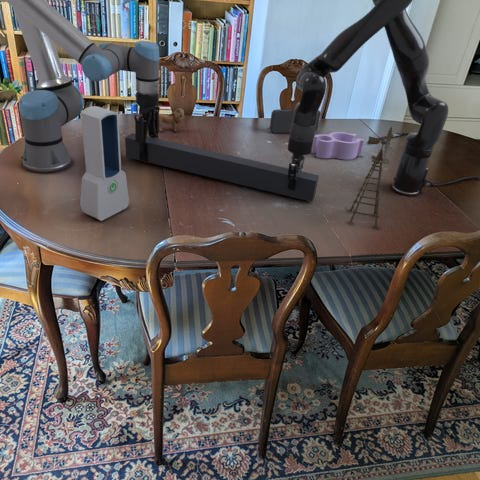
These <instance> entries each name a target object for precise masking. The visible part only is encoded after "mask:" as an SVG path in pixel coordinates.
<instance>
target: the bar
mask: <svg viewBox="0 0 480 480" xmlns="http://www.w3.org/2000/svg"><path fill="white" fill-rule="evenodd" d="M124 142H125V143H124V144H125V145H124V146H125V158H128V159H133V160H137V161H141V162H145V163H149V164H152V165H153V164H154V165H157V166H161V167H166V168H169V169H175V170H179V171H183V172H186V173H190V174H196V175H199V176H204V177H207V178H213V179H216V180H220V181H224V182H229V183H232V184H237V185H240V186H246V187H249V188H253V189H257V190H262V191H265V192H270V193H275V194H279V195H283V196H287V197H290V198H295V199H299V200H302V201H303V200H304V201H307V202H311V203H312V202H313V201H314V199H315V196H316V192H317V189H318V183H319V178H320V175H319V174H315V173H311V172H307V171H300V173H298V175H297V179H296V184H295V189H294V190H290V189H288V183H289V179H288V178H287V177H288V171H289V167H286V166H285V167H284V166H280V165H275V164H272V163H266V162H262V161H257V160H254V159H248V158H246V157H245V158H244V157H241V156H235V155H231V154H227V153H223V152H218V151H213V150H209V149H205V148H202V147H201V148H200V147H196V146H192V145H187V144H183V143H178V142H174V141H169V140H166V139H162V138H161V139H160V138H152V137H150V136H149V135H147V139H146V143H147V145H148V161H147V162H146V161H143V160H140V146H139V143H136V142H135V132H131V133H130V134H128V135H126V136H125V137H124ZM291 175H292V176H294V175H293V174H291Z"/></svg>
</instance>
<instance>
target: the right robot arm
mask: <svg viewBox="0 0 480 480" xmlns="http://www.w3.org/2000/svg"><path fill="white" fill-rule="evenodd" d="M371 1H372V4H373V7H372V8H371V9H370V10H369V11H368V12H367V13H366V14H365V15H364V16H362V17H361V18H359V20H357V21H355V22H354V23H353V24H350V25H349V26H348V27H346V28H345V29H343V30H342V31H341V32H340V33H339V34H338V35H337V36H335V38H334V39H333V40H332V41H331V42H330V43H329V44H328V45H327V46H326V47H325V48H324V49H323V51H322V52H321V53H320V54H318V55H317V56H315V58H313V59H312V60H311V61H308V63H307V64H306V65H304V66H303V68H301V69H300V71H299V73H298V74H297V76H296V80H295V85H296V86H297V88H298V90H299V91H301V97H300V101H299V102H297V103H296V104H295V106H294V109H295V110H294V116H293V122H292V126H291V130H290V133H289V135H288V142H287V143H288V144H287V151H288V152H289V153H290V154H291V153H292V156H291V157H290V160H289V164H288V168H289V171H288V177H287V178H288V179H289V183H288V189H290V190H294V189H295V184H296V179H297V175H298V173H300V171H302V170H303V168H304V164H305V160H306V156H308V155H310V154H312V148H313V142H314V137H315V135H316V134H315V133H316V131H315V124H316V119H317V113H318V110H319V109H320V107H321V105H322V103H323V100H324V98H325V95H326V91H327V81H326V80H327V79H326V77H327V76H328V75H329V74H332V73H337V72H338V71H340V70H341V69H342V68H343V67H344V66H345V65H346V64H347V63H348V61H349V60H350V59H351V58H352V57H353V56H354V55H355V54H356V53H357V52H358V51H359V50H360V49H361V48H362V47H363V46H364V45H365V44H367V42H368V41H369V40H371V38H373V37H374V36H375V35H376V34H378V32H380V31H381V30H382V29H383V28H384V31H385V33H386V37H387V41H388V44H389V46H390V49H391V50H390V51H391V53H392V56H393V61H394V63H395V66H396V69H397V72H398V74H399V76H400V80H401V83H402V86H403V88H404V92H405V96H406V101H407V107H408V111H409V115H410V118H411V119H412V120H413V121H414V122H416V123H417V124H419V125H420V127H419V129H418V131H417V132H411V133H409V134H407V136H406V139H405V143H404V145H403V146H404V147H403V149H402V153H401V156H400V160H399V163H398V166H397V170H396V173H395V176H394V177H393V180H392V181H393V183H392V186H391V188H392V190H393V191H395V192H396V193H397V194H399V195H400V194H401V195H404V196H411V197H412V196H417V195H418V194H421V193H422V190H423V188H426V185H427V183H428V184H430V186H432V187H440V186H446V185H450V184H455V183H457V182H460V181H463V180H464V181H465V180H469V179H476V180H477V181H480V178H479V176H477V175H470V176H467V177H461V178H457V179H455V180H452V181H447V182H443V183H433V182H432V181H431V180H428V179H427V175H428V172H429V167H428V165H429V163H430V159H431V156H432V153H433V150H434V147H435V144H436V143H437V142H438V141H439V139H440V138H441V137H440V136H441V134H442V132H443V130H444V127H445V125H446V122H447V120H448V116H449V105H448V104H447V102H445V101H443V100H441V99H439V98H437V97H434V96H433V95H432V94H431V92H430V89H429V88H428V87H429V86H428V85H427V79H426V78H427V75H428V71H429V68H430V58H429V57H430V56H429V53H428V50H427V45H426V43H425V40H424V38H423V36H422V35H421V33H420V32H419V30H418V28H417V27H416V25H415V24H414V23H413V22H414V21H412V19H411V18H410V16H409V14H408V11H407V9H408V7H409V6H410V5H411V4H412V2H413V0H371ZM302 172H303V171H302ZM291 174H293V175H294V176H292V175H291Z"/></svg>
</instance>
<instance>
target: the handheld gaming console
mask: <svg viewBox="0 0 480 480" xmlns="http://www.w3.org/2000/svg"><path fill="white" fill-rule="evenodd" d="M294 110H295V108H283V109H273V110H272V111H271V114H270V123H269V131H270V132H271V133H272V134H290V130H291V126H292V122H293V116H294ZM321 115H322V113H321V111H320V110H319V109H318V113H317V119H316V124H315V132H317V131H318V129H319V123H320V118H321Z"/></svg>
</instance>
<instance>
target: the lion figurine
mask: <svg viewBox="0 0 480 480" xmlns="http://www.w3.org/2000/svg"><path fill="white" fill-rule="evenodd" d="M184 118H185V110H184V109H183V108H180V107H179V108H176V109H175V111H173V112H171V113H170V114H163V113H159V132H163V131H164V130H163V129H162V128H161V125H162V123H163V124H165V125H171V129H172V130H173V132H175V133H176V132H178V130H177V125H178V124H180V123H181V122H182V121H183V120H184Z"/></svg>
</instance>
